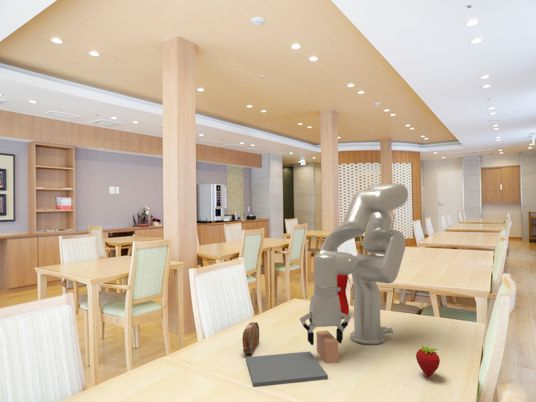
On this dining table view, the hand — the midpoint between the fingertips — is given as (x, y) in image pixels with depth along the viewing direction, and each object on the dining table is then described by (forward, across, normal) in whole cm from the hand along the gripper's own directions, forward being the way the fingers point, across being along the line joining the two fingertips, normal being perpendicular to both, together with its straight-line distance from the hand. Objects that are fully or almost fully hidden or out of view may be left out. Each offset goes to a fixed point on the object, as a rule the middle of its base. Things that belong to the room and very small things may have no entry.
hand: (325, 342), depth 125 cm
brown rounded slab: (+6, +23, -12) cm, 27 cm away
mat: (+5, +15, +6) cm, 17 cm away
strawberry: (+5, -25, +20) cm, 32 cm away
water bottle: (+4, -21, -42) cm, 47 cm away
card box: (+5, -1, 0) cm, 5 cm away
